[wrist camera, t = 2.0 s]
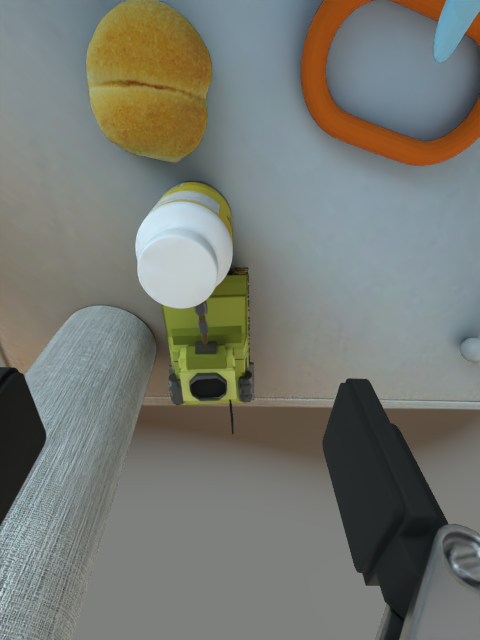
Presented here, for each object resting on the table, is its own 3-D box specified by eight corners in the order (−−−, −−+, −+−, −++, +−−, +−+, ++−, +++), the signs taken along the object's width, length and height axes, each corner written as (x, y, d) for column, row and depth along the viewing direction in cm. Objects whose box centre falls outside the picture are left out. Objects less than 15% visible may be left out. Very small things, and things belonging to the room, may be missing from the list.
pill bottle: (202, 266, 32) (189, 339, 22) (143, 222, 29) (99, 281, 19) (247, 213, 29) (256, 269, 19) (187, 160, 27) (161, 193, 17)
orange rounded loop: (344, -77, 18) (557, 28, 21) (336, -64, 20) (536, 32, 23) (281, 119, 24) (459, 183, 26) (278, 118, 25) (448, 179, 28)
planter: (160, 378, 39) (63, 755, 17) (73, 376, 39) (-150, 761, 16) (153, 305, 34) (-6, 718, 11) (52, 301, 33) (-330, 725, 11)
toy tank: (251, 255, 31) (258, 311, 23) (252, 374, 39) (257, 448, 31) (161, 258, 31) (135, 315, 23) (181, 376, 39) (167, 451, 31)
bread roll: (217, 19, 22) (215, 4, 19) (203, 164, 27) (199, 173, 23) (88, -11, 21) (61, -33, 18) (96, 145, 26) (77, 152, 22)
